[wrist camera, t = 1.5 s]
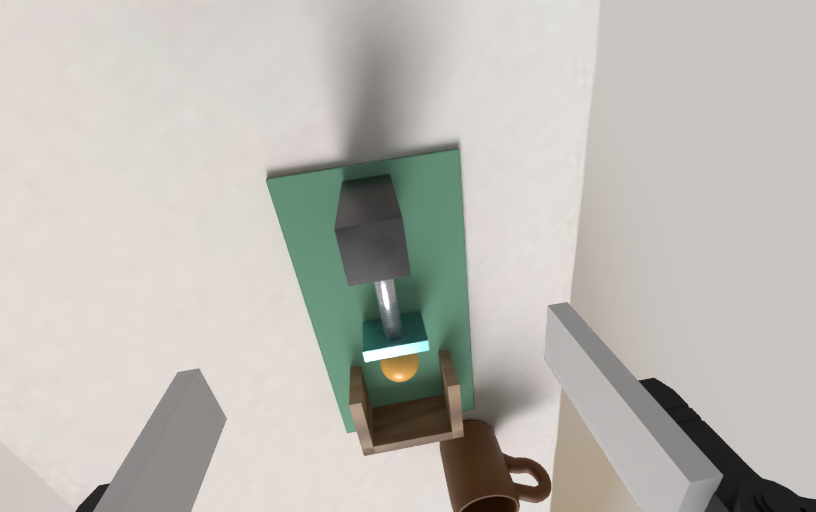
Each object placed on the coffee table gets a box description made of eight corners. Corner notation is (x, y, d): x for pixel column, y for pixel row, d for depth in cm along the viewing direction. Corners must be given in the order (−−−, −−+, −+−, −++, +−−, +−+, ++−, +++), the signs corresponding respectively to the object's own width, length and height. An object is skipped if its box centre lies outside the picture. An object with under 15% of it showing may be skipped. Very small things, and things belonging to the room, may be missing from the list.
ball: (376, 337, 38) (378, 364, 34) (413, 330, 38) (419, 357, 34) (382, 365, 40) (384, 393, 36) (417, 358, 40) (423, 386, 36)
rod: (329, 183, 29) (316, 231, 20) (401, 171, 30) (419, 214, 21) (364, 330, 37) (366, 412, 28) (422, 320, 37) (441, 398, 28)
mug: (526, 406, 47) (562, 479, 38) (524, 443, 50) (557, 517, 42) (435, 423, 46) (452, 501, 38) (440, 459, 50) (456, 538, 41)
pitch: (267, 178, 29) (265, 179, 29) (457, 148, 30) (459, 149, 30) (347, 429, 44) (347, 433, 44) (473, 405, 45) (474, 408, 45)
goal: (350, 367, 39) (348, 405, 35) (448, 349, 40) (459, 384, 35) (363, 416, 43) (364, 455, 39) (453, 399, 43) (463, 436, 39)
